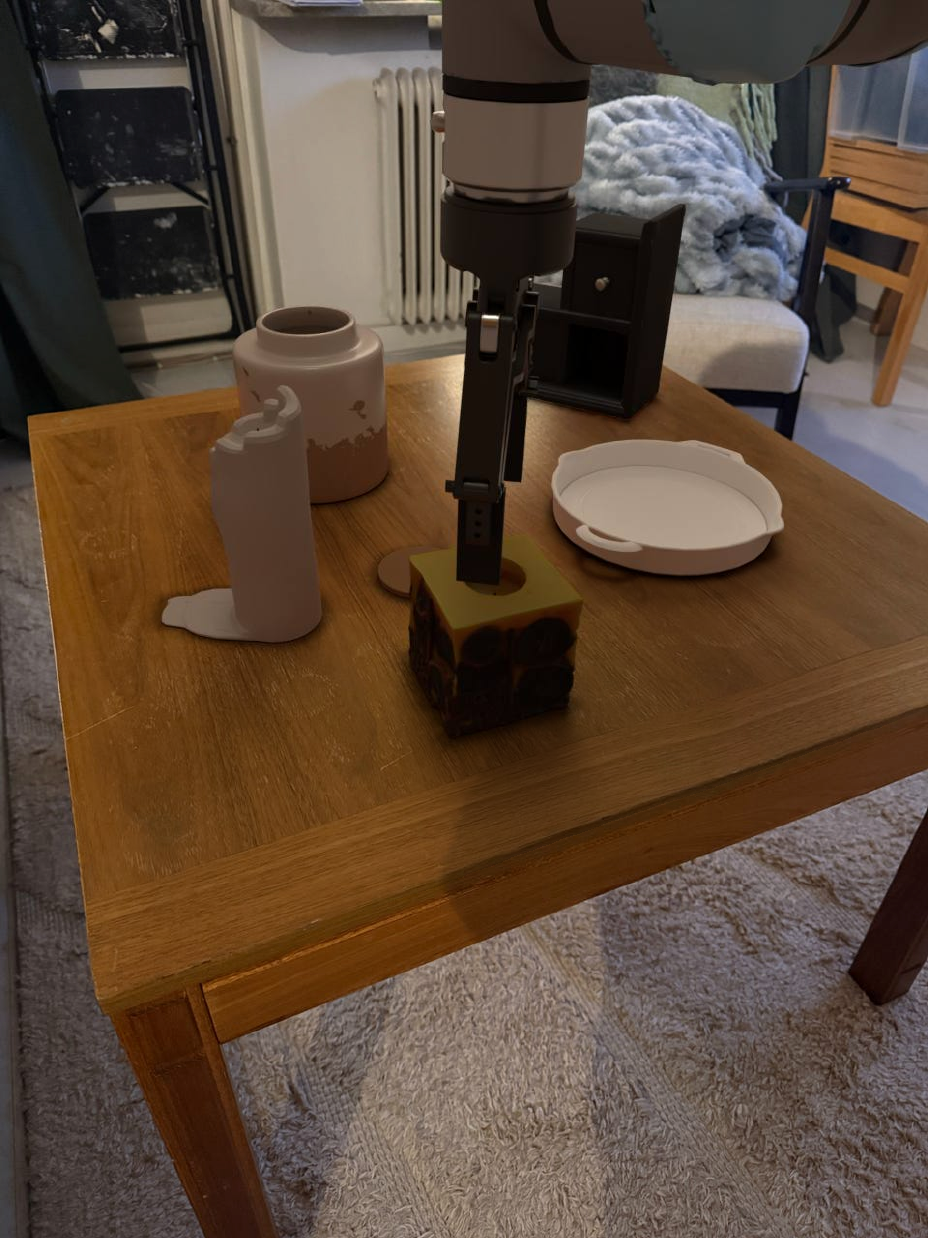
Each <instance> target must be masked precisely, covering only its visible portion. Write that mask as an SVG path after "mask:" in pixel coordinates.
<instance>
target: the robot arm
mask: <svg viewBox="0 0 928 1238" xmlns="http://www.w3.org/2000/svg"><path fill="white" fill-rule="evenodd" d="M927 47H928V0H441V74H442V75H441V77H442V78H441V89H442V91H443V92H442V103H441V107H442V110H443V111H441V110H440V111H439V110H438V111H433V112H432V116H431V119H430V121H429V123H430V128H431V129H432V130H433V132H436V133H438V134H441V133H443V134H444V137H443V138H444V140H443V141H442V142H441V174H442V176H443V177H444V178H445V179H446V180H447V181H448V182H450V183H451V184H450V185H448V186H447V187H445V189H443V192H442V193H440V196H439V197H440V198H439V200H440V204H439V206H440V209H439V210H440V211H439V212H440V213H439V228H440V229H439V253H440V256H441V259H442V260H443V261H444V262H445V264H447V265H448V266H450V267H451V268H453V269H455V270H457V271H459V272H463V273H465V272H468V273H471V274H472V275H474V276H475V277H476V278H477V279H478V280H479V286H478V287H473V291H472V296H471V297H472V298H471V300H470V299H468V300H467V302H466V308H465V315H464V316H465V317H464V327H465V330H466V331H465V352H464V359H463V360H464V361H463V379H462V390H461V401H460V412H459V423H458V424H459V425H458V433H457V447H456V455H455V456H456V458H455V468H454V479H453V480H452V479H445V480H444V481H445V482H444V492H445V493H448V494H452V497H453V500H457V525H456V526H457V529H456V531H457V532H456V535H457V536H456V537H457V538H456V548H457V566H456V581H462V582H471V583H480V584H489V585H499V583H500V577H501V561H502V545H503V538H504V528H505V526H504V525H505V512H506V511H505V509H506V494H507V487H506V486H505V485H506V484H505V482H508V483H509V482H510V483H522V480H523V471H524V459H525V458H524V455H525V444H526V430H527V417H528V416H527V415H528V403H529V398H528V396H523V395H520V392H529V393H537V391H538V382H539V377H536V376H528V374H530V370H531V369H532V364H533V362H532V361H531V346H532V343H533V339H534V331H535V321H536V320H537V317H538V309H539V302H540V292H533V287H534V283H535V277H538V278H541V277H545V276H550V275H553V274H556V273H558V272H561V271H563V269H564V268H566V267H567V266H568V265H569V264H570V262H571V260H572V258H573V251H574V241H575V230H576V221H577V220H578V208H579V200H578V199H577V197H576V195H575V193H574V192H573V191H572V190H571V189H570V188H573V187H574V186H576V185H577V184H578V183H579V181H581V180H582V178H583V168H584V159H585V158H584V157H585V150H586V149H585V147H586V138H587V127H588V118H589V108H590V96H589V95H590V86H591V85H590V84H591V77H592V66H599V65H602V66H609V67H615V68H622V69H628V70H634V71H635V70H636V71H642V72H648V73H654V74H661V75H668V76H675V77H681V78H687V79H691V80H692V82H694V83H696V84H700V85H704V86H711V87H715V86H717V85H722V84H725V85H726V84H729V85H730V84H731V85H745V84H751V85H752V84H753V85H774V84H778V83H781V82H785V81H788V80H790V79H792V78H795V76H797V75H798V74H799V73H800V72H802V71H803V70H804V68H806V67H825V66H847V67H852V68H867V67H872V66H876V65H880V64H884V63H887V62H893V61H896V60H898V59H901V58H905V57H908V56H911V55H913V54H916V53H918V52H920V51H922V50H924V49H925V48H927Z"/></svg>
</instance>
